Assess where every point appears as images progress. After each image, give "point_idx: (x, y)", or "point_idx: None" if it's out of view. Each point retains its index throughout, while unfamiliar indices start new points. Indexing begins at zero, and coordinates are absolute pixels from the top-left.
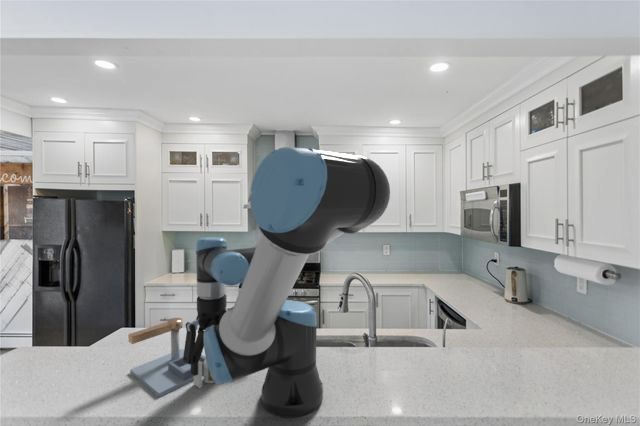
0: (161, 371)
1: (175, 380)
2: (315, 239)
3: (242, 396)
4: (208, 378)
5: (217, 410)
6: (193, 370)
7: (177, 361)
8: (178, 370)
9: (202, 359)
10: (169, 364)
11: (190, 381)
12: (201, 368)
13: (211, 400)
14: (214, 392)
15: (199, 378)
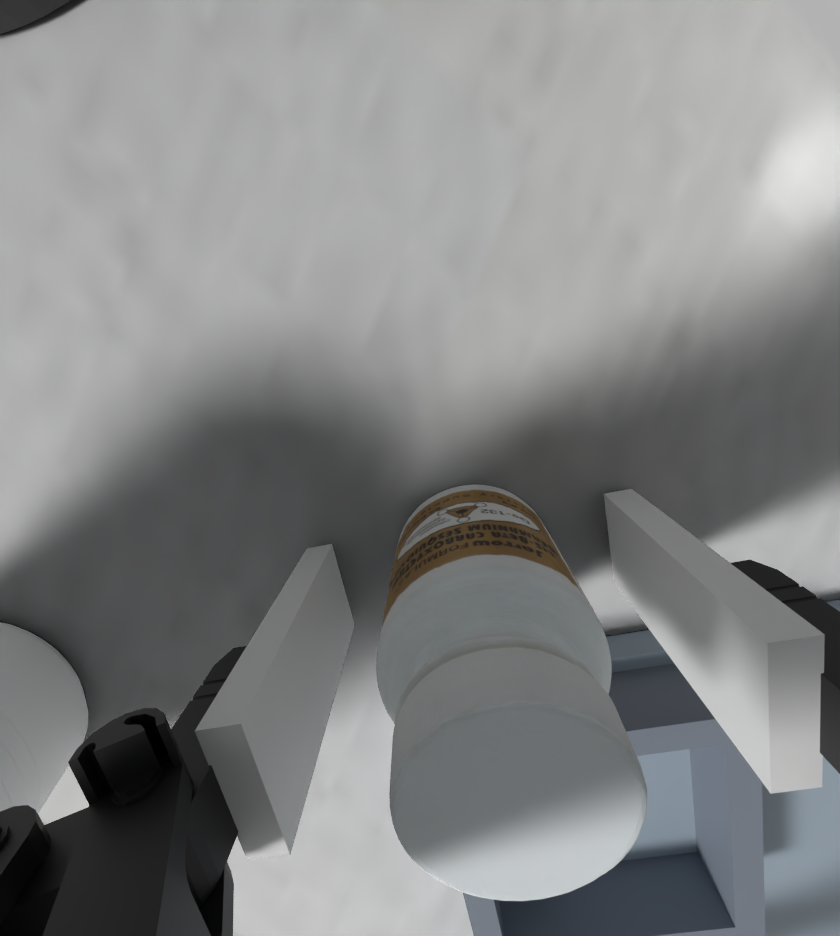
0: (773, 875)
1: None
2: None
3: (359, 65)
4: (542, 527)
5: (667, 10)
6: (820, 601)
7: (679, 919)
8: (755, 785)
9: None
10: (760, 915)
11: (636, 632)
12: (709, 581)
13: (630, 232)
14: (550, 340)
15: (673, 525)
